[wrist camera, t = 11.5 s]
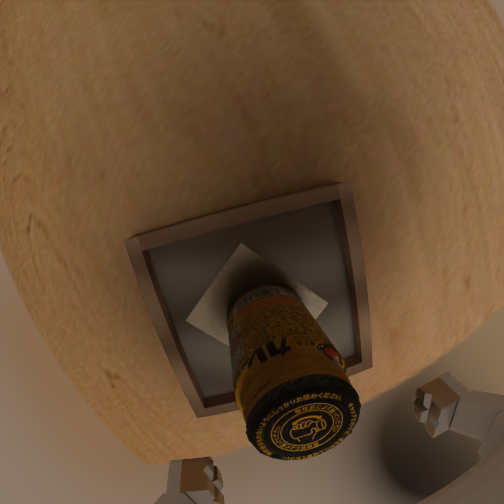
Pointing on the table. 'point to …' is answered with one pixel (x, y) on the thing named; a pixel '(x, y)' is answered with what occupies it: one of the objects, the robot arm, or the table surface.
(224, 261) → the square wooden tray
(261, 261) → the condiment
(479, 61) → the table surface
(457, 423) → the robot arm
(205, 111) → the table surface
